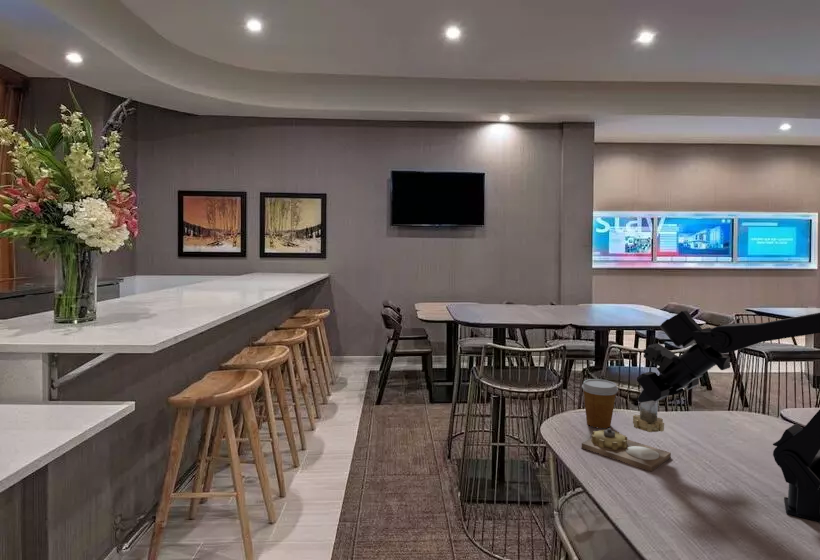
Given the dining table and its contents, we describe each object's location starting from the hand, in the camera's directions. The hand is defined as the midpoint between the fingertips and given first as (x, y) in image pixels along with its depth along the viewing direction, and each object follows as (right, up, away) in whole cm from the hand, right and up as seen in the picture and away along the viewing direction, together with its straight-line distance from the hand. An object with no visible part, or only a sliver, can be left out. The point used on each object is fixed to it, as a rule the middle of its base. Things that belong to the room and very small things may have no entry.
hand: (643, 399), depth 118 cm
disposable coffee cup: (-4, -12, +19) cm, 23 cm away
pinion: (+1, -7, -1) cm, 7 cm away
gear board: (-4, -13, +1) cm, 14 cm away
